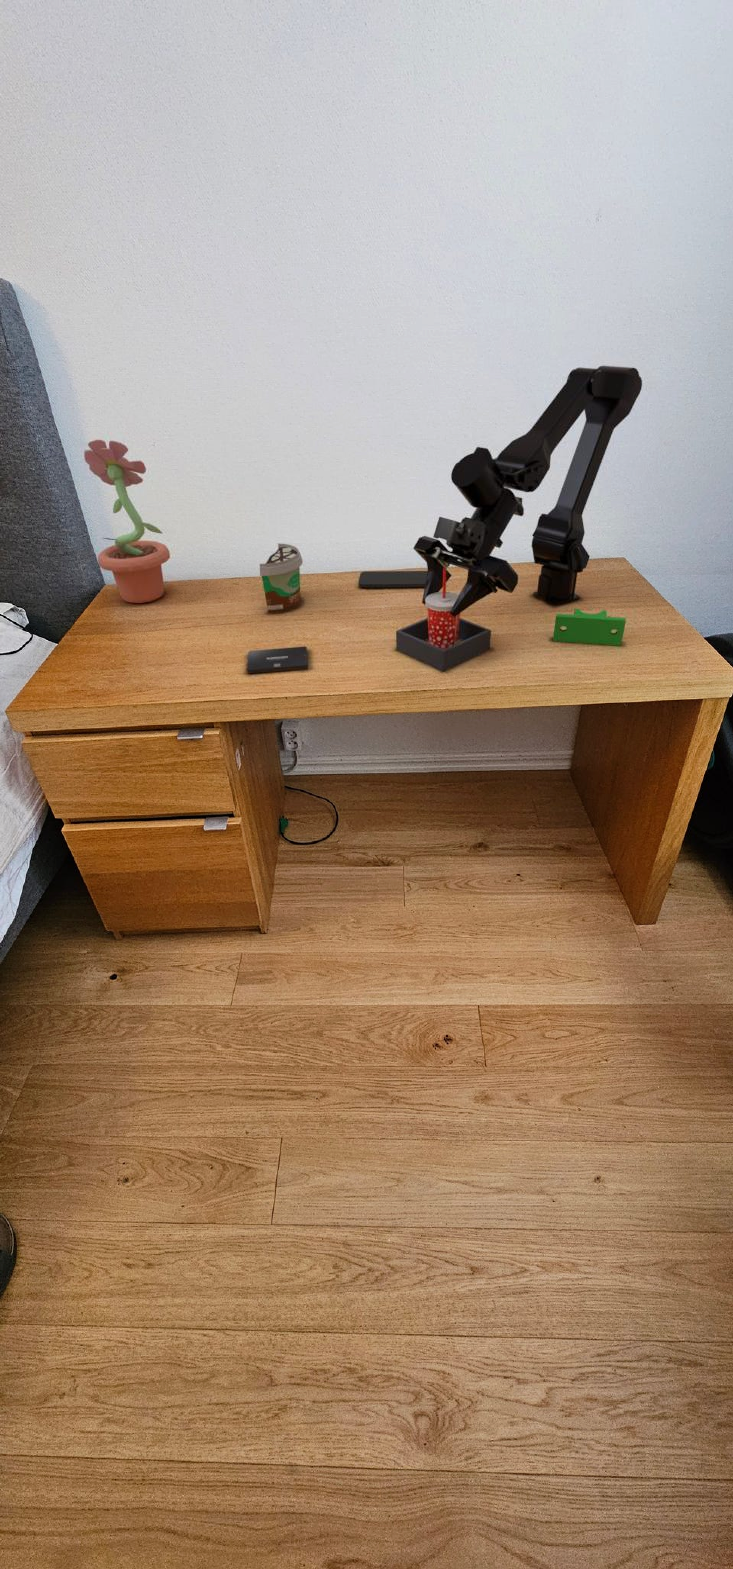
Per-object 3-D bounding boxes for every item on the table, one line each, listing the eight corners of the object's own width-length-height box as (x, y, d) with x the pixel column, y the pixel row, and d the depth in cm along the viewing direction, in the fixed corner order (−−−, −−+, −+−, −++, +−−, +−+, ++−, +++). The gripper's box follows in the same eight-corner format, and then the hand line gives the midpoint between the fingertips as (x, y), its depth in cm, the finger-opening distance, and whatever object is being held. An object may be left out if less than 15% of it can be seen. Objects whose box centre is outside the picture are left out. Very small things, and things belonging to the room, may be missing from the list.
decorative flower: (193, 585, 147) (161, 428, 129) (167, 611, 137) (129, 445, 119) (128, 583, 150) (88, 429, 132) (97, 609, 139) (49, 446, 121)
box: (442, 629, 125) (442, 611, 122) (489, 649, 118) (491, 630, 115) (396, 649, 119) (395, 630, 117) (443, 671, 112) (443, 652, 110)
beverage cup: (441, 638, 122) (442, 559, 113) (468, 648, 118) (472, 567, 110) (417, 650, 118) (417, 569, 110) (444, 661, 115) (446, 578, 106)
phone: (432, 584, 140) (358, 584, 141) (432, 587, 140) (358, 588, 141) (432, 570, 146) (360, 571, 147) (432, 574, 146) (360, 575, 147)
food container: (296, 617, 131) (291, 565, 125) (265, 616, 133) (258, 564, 127) (313, 592, 141) (309, 543, 135) (284, 591, 142) (278, 542, 136)
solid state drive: (308, 668, 115) (307, 664, 114) (247, 673, 114) (246, 670, 114) (307, 649, 120) (306, 646, 120) (248, 654, 120) (248, 650, 119)
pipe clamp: (620, 636, 119) (625, 611, 117) (620, 646, 116) (626, 620, 114) (553, 631, 122) (556, 606, 119) (552, 641, 119) (555, 615, 116)
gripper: (421, 484, 111) (372, 570, 112) (512, 506, 100) (456, 602, 101) (454, 523, 120) (408, 602, 121) (541, 547, 108) (489, 635, 110)
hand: (437, 609), depth 113 cm, fingers closed on beverage cup, 6 cm apart
